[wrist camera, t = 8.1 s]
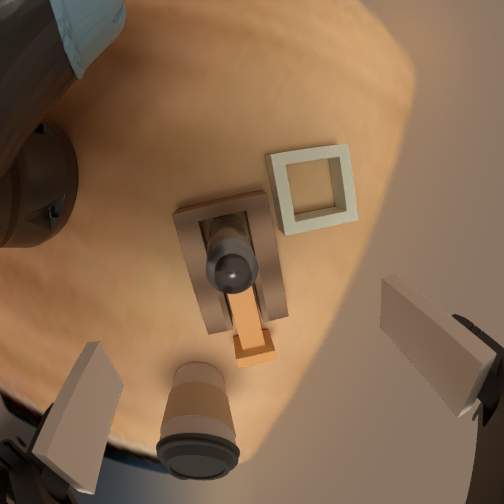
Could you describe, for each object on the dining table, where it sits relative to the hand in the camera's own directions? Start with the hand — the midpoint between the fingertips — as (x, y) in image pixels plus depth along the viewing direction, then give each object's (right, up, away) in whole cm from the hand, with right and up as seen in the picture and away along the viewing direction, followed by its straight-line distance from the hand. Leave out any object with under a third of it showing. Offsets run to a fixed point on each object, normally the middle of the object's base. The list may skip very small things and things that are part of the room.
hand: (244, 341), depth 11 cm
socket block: (-2, +3, +19) cm, 19 cm away
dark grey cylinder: (-2, +6, +18) cm, 19 cm away
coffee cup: (-7, -14, +24) cm, 28 cm away
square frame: (+6, +11, +17) cm, 21 cm away
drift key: (-1, -3, +21) cm, 21 cm away
